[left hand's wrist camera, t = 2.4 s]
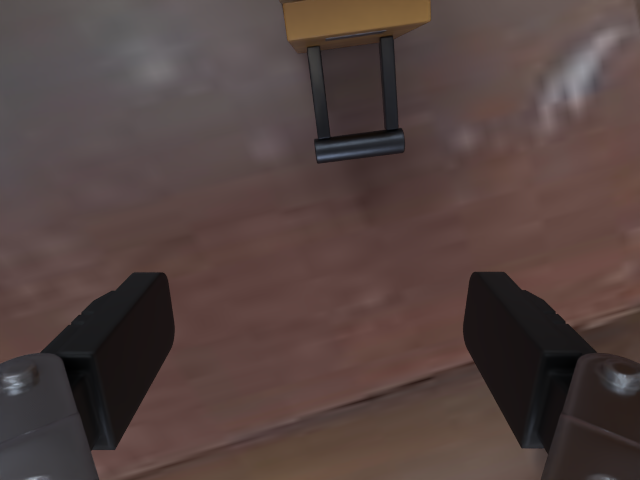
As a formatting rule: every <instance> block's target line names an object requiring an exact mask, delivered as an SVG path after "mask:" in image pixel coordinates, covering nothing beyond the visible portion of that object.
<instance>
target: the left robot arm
mask: <svg viewBox="0 0 640 480" xmlns="http://www.w3.org/2000/svg"><path fill="white" fill-rule="evenodd" d="M174 333H175V326H174V318H173V311H172V304H171V297H170V290H169V283H168V279H167V276H166V274H165V273H163V272H135V273H132V274H131V275H130V276H129V277H128V278H127V279H126V280H125V281H124V282H123V283H122V284H121V285H120V286H119V288H118V289H117V290H116V291H111V292H109V293H107V294H105V295H103V296H101V297H100V298H98V299H96V300H94V301H93V302H92V303H91V304H90V305H89V306H88V307H87V308H86V309H85V310H84V311H83V312H82V314H81V315H78V316H77V317H76V318H75V319H74V320H73V321H72V322H71V325H68V326H67V327H66V328H65V329H64V330H63V331H62V332H61V333H60V334H59V335H58V336H57V337H56V338H55V339H54V340H53V341H52V342H51V343H50V344H49V345H48V346H47V347H46V348H45V349H44V350H43V351H41V352H40V353H35V354H29V355H24V356H20V357H17V358H14V359H11V360H8V361H6V362H3V363H1V364H0V480H99V477H98V474H97V471H96V467H95V464H94V461H93V457H92V454H91V450H115V449H116V447H117V445H118V443H119V442H120V440H121V438H122V436H123V434H124V433H125V431H126V429H127V427H128V425H129V424H130V422H131V420H132V418H133V416H134V415H135V413H136V411H137V409H138V407H139V406H140V404H141V402H142V400H143V398H144V397H145V395H146V393H147V391H148V389H149V388H150V386H151V384H152V382H153V380H154V379H155V377H156V375H157V373H158V371H159V370H160V368H161V366H162V364H163V362H164V360H165V359H166V357H167V355H168V353H169V351H170V350H171V348H172V345H173V341H174ZM463 335H464V341H465V345H466V347H467V349H468V351H469V353H470V355H471V357H472V358H473V360H474V362H475V364H476V366H477V368H478V369H479V371H480V373H481V375H482V377H483V379H484V380H485V382H486V384H487V386H488V388H489V389H490V391H491V393H492V395H493V397H494V399H495V400H496V402H497V404H498V406H499V408H500V410H501V411H502V413H503V415H504V417H505V419H506V421H507V422H508V424H509V426H510V428H511V430H512V431H513V433H514V435H515V437H516V439H517V441H518V442H519V444H520V446H521V448H545V450H546V452H547V453H548V457H547V461H546V464H545V467H544V471H543V474H542V477H541V480H640V364H639V363H637V362H634V361H632V360H629V359H626V358H623V357H620V356H616V355H611V354H605V353H597V352H596V351H595V350H594V349H593V348H592V347H591V346H590V345H589V344H588V343H587V342H586V341H585V340H584V339H583V338H582V337H581V336H580V335H579V334H578V333H577V332H576V331H575V330H574V329H573V328H572V327H571V326H570V325H569V324H566V323H565V321H564V320H563V319H562V318H561V317H560V316H559V315H558V314H556V313H555V311H554V310H553V309H552V308H551V307H550V306H549V305H548V304H547V303H546V302H545V301H544V300H543V299H541V298H539V297H537V296H535V295H533V294H532V293H530V292H528V291H526V290H521V289H520V288H519V287H518V286H517V284H516V283H515V282H514V281H513V280H512V279H511V278H510V277H509V276H508V275H507V274H506V273H505V272H473V273H472V275H471V277H470V281H469V288H468V295H467V302H466V309H465V316H464V323H463Z"/></svg>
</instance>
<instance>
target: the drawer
mask: <svg viewBox="0 0 640 480" xmlns="http://www.w3.org/2000/svg"><path fill="white" fill-rule="evenodd" d="M283 12H284V19H285V27H286V34H287V40H288V42H289V43H290V44H291V45H292V47H293V48H294V49H295V50H296V52H297V53H298V54H299V53H306V52H307V54H308V62H309V70H310V78H311V86H312V94H313V102H314V110H315V118H316V126H317V134H318V139H314V144H315V152H316V160H317V163H318V164H319V163H327V162H334V161H342V160H350V159H358V158H366V157H374V156H382V155H389V154H397V153H403V152H404V149H405V139H404V133H403V130H402V128H398V110H397V92H396V74H395V56H394V39H395V38H397V37H399V36H401V35H403V34H405V33H407V32H409V31H411V30H413V29H415V28H418V27H420V26H422V25H424V24H426V23H428V22H430V21H431V8H430V0H301V1H294V2H287V3H283ZM371 43H379V52H380V67H381V82H382V97H383V112H384V126H385V129H386V130H381V131H373V132H365V133H358V134H350V135H342V136H334V137H330V129H329V121H328V112H327V103H326V94H325V86H324V77H323V68H322V59H321V51H320V50H328V49H335V48H342V47H349V46H357V45H364V44H371Z"/></svg>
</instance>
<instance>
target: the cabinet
mask: <svg viewBox="0 0 640 480" xmlns="http://www.w3.org/2000/svg"><path fill="white" fill-rule="evenodd" d="M279 1H280V3H287V2H294V1H301V0H279Z"/></svg>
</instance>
